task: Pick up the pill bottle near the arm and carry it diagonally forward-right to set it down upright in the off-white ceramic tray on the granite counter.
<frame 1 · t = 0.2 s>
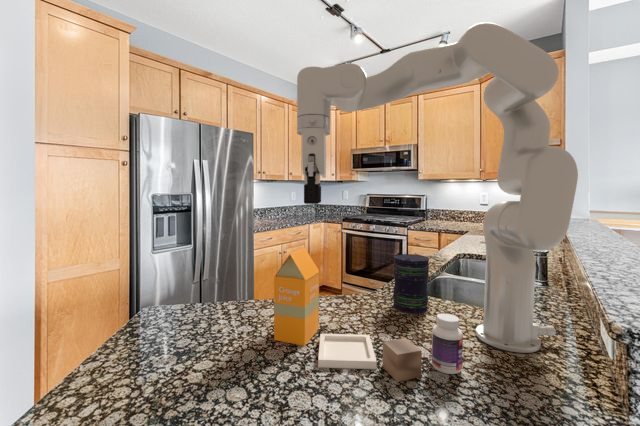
hand: (313, 203, 69), 31 cm above the countertop, tool pointing down, fingers open, 9 cm apart
orange juice: (297, 335, 71), on the countertop
walnut block: (401, 372, 56), on the countertop
pill bottle: (446, 368, 58), on the countertop
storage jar: (410, 308, 89), on the countertop
tray: (345, 353, 63), on the countertop
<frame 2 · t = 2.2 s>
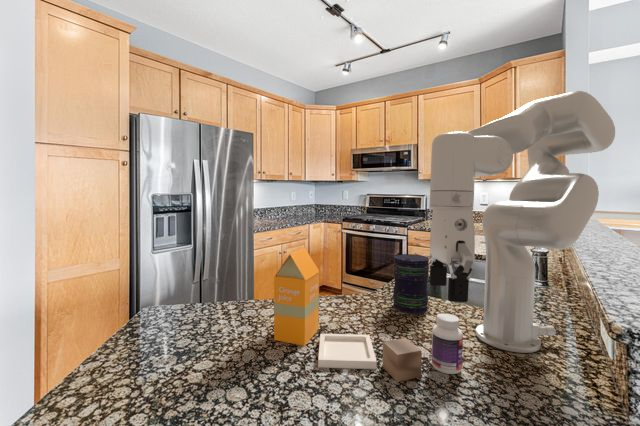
hand: (446, 292, 57), 15 cm above the countertop, tool pointing down, fingers open, 9 cm apart
nothing on the countertop moved.
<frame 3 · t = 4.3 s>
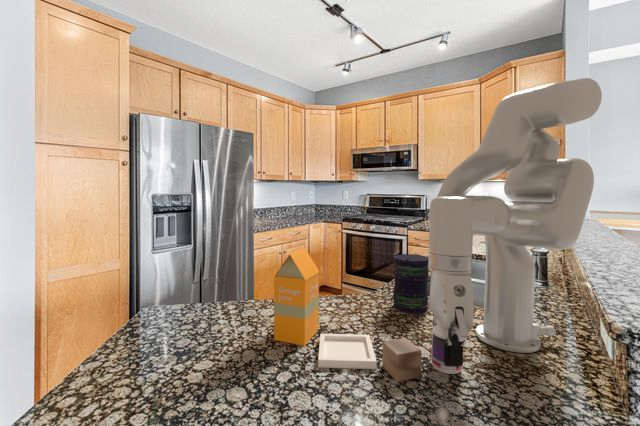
hand: (446, 355, 58), 2 cm above the countertop, tool pointing down, fingers closed on pill bottle, 5 cm apart
pill bottle: (446, 367, 58), on the countertop, touching gripper
everything else where it was.
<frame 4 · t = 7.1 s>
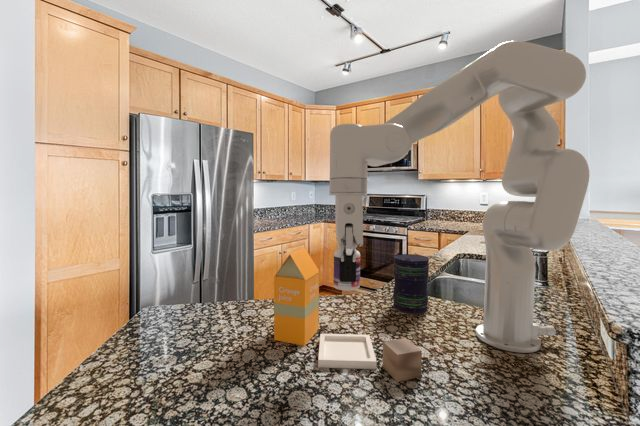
hand: (346, 276, 62), 16 cm above the countertop, tool pointing down, fingers closed on pill bottle, 5 cm apart
pill bottle: (346, 288, 62), point 14 cm above the countertop, touching gripper
everything else where it was.
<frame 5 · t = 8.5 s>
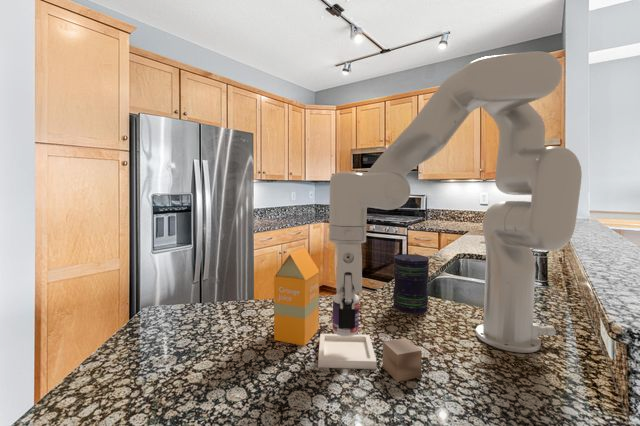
hand: (345, 320, 62), 7 cm above the countertop, tool pointing down, fingers closed on pill bottle, 5 cm apart
pill bottle: (345, 332, 63), point 4 cm above the countertop, touching gripper
everything else where it was.
when the fingers open (5 cm above the countertop, at t = 9.9 s): pill bottle drops 2 cm, resting on tray.
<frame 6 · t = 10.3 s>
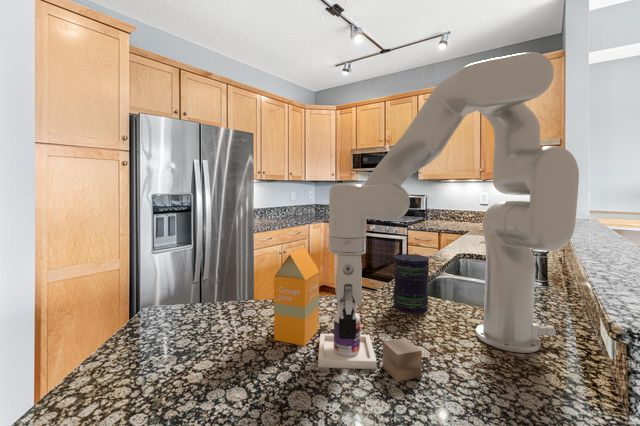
hand: (346, 327, 63), 5 cm above the countertop, tool pointing down, fingers open, 9 cm apart
pill bottle: (346, 351, 63), resting on tray
everything else where it was.
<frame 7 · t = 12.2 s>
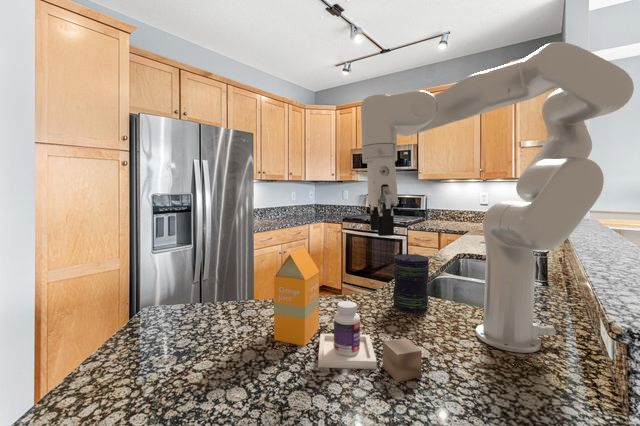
hand: (381, 232, 67), 24 cm above the countertop, tool pointing down, fingers open, 9 cm apart
nothing on the countertop moved.
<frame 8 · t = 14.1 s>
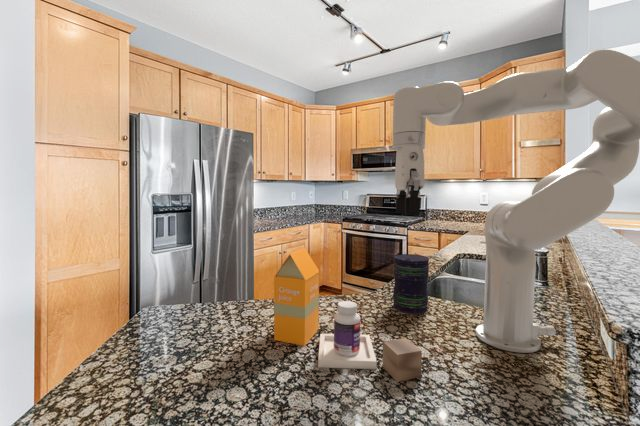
hand: (406, 213, 74), 28 cm above the countertop, tool pointing down, fingers open, 9 cm apart
nothing on the countertop moved.
at the end: pill bottle inside the target area on the tray (0.2 cm from its centre), point 0.4 cm above the tray's base; pill bottle tilted 0°; the gripper is holding nothing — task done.
